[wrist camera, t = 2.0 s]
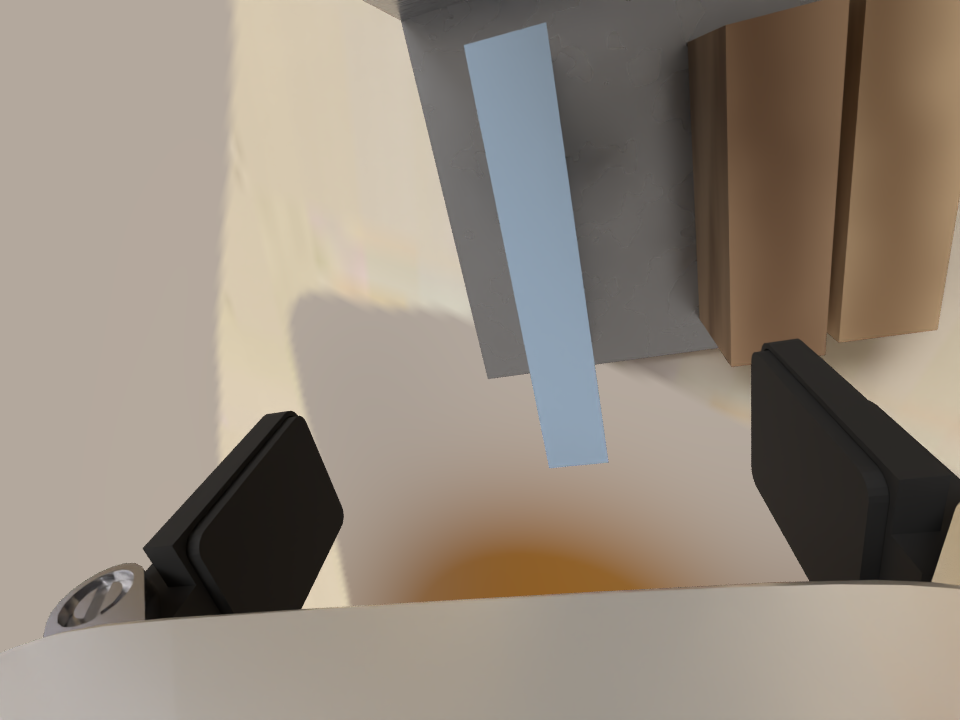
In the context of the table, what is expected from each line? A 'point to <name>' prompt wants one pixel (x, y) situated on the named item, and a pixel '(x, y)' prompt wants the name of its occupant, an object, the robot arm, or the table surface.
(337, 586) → the table surface
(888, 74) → the offcut short
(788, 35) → the offcut tall
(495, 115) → the sheet
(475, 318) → the rack
